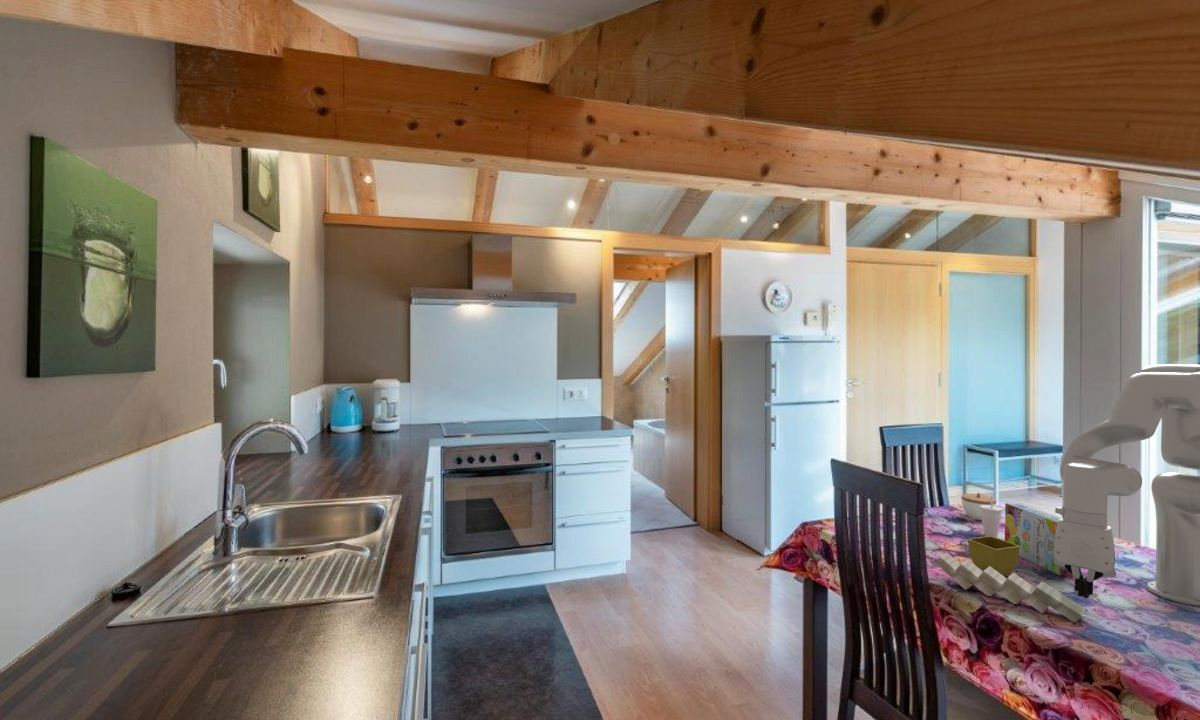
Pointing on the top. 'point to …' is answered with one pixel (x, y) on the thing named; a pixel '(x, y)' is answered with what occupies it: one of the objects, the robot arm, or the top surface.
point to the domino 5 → (1058, 602)
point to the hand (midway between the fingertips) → (1083, 595)
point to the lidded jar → (975, 504)
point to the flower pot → (993, 554)
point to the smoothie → (991, 519)
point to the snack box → (1033, 535)
